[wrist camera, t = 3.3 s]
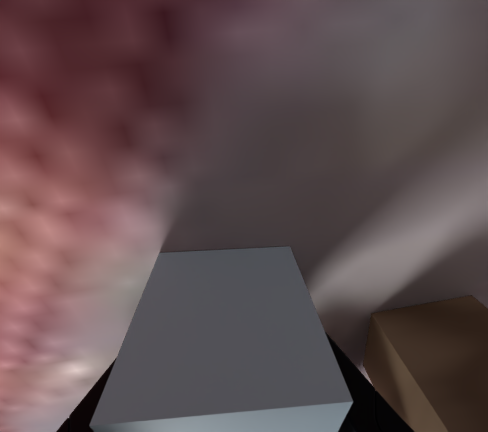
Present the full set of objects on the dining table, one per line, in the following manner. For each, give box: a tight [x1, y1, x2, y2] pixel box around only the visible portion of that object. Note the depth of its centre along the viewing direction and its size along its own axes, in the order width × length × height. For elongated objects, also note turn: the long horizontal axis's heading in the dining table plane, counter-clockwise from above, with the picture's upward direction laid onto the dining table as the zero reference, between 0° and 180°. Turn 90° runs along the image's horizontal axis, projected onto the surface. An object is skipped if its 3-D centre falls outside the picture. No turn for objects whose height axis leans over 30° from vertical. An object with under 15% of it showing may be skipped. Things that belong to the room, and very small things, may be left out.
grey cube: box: [89, 246, 353, 432], centre depth 8 cm, size 5×5×5 cm
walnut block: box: [363, 295, 488, 432], centre depth 10 cm, size 5×5×5 cm
